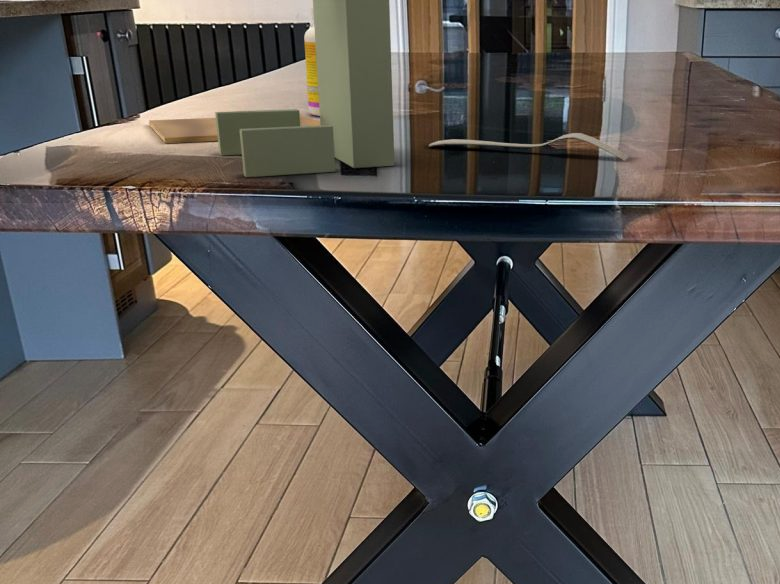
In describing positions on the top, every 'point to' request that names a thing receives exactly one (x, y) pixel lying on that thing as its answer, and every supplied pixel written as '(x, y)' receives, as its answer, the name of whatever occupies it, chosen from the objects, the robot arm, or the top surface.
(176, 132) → the cork mat
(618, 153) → the fork
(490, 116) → the top surface
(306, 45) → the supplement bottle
